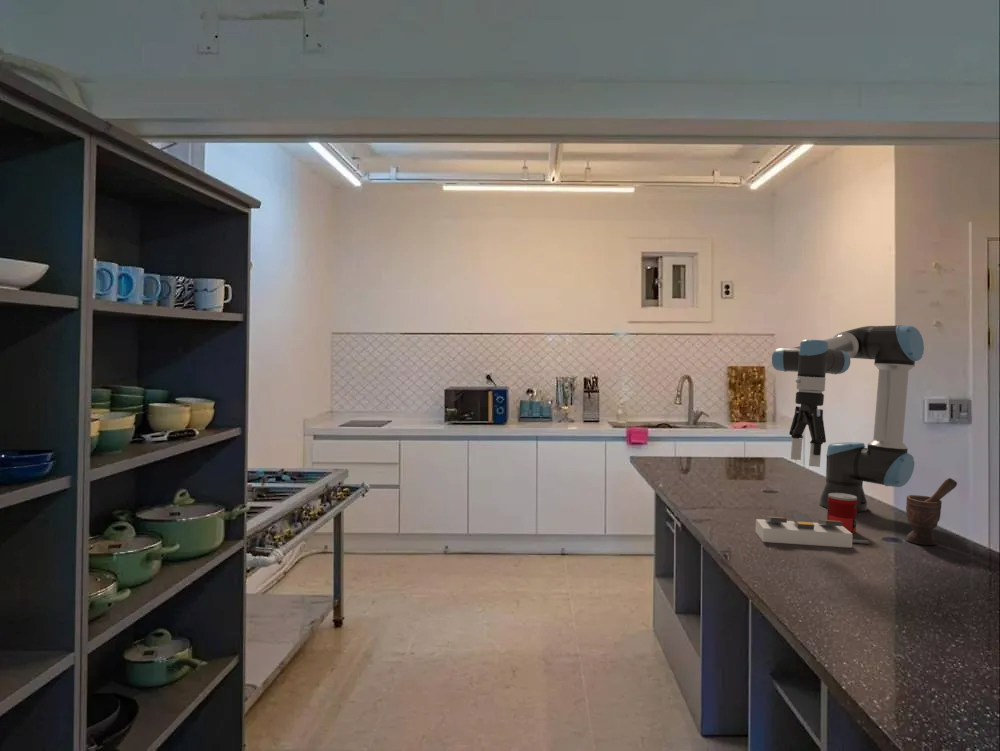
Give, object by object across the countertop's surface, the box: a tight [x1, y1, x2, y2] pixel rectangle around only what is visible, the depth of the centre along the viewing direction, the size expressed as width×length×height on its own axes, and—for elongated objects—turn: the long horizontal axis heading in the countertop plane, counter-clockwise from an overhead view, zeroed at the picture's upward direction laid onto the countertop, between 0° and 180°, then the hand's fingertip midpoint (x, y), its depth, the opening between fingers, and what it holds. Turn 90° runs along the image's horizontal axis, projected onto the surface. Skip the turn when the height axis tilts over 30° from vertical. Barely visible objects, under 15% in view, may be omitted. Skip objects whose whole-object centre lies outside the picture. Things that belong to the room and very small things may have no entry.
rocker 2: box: [817, 519, 842, 526], centre depth 186 cm, size 4×7×1 cm, turn 170°
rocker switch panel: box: [755, 518, 870, 549], centre depth 187 cm, size 30×10×4 cm, turn 80°
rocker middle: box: [791, 512, 814, 529], centre depth 188 cm, size 4×7×1 cm, turn 170°
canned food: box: [826, 493, 858, 534], centre depth 198 cm, size 8×8×11 cm
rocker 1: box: [764, 516, 788, 523], centre depth 189 cm, size 4×7×1 cm, turn 170°
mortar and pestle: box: [905, 477, 958, 546], centre depth 186 cm, size 12×9×20 cm
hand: (804, 462), depth 189 cm, fingers open, 13 cm apart
